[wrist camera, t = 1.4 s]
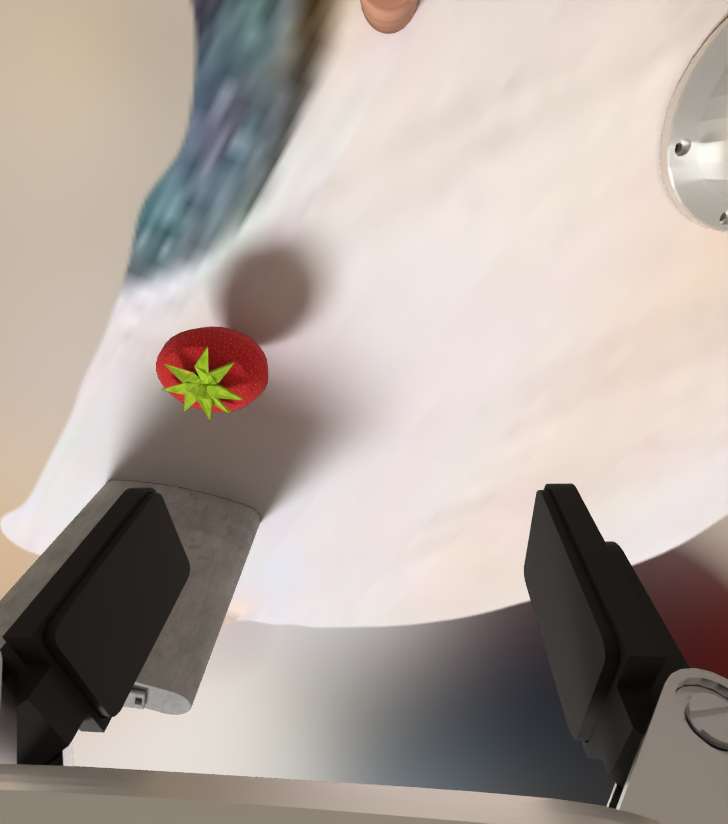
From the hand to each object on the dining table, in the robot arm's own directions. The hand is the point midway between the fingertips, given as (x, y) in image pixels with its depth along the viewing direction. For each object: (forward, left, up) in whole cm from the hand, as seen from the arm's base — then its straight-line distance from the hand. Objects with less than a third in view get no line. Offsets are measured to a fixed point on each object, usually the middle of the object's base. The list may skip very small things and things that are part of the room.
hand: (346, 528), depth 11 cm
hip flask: (+25, +15, -24) cm, 38 cm away
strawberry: (+12, +1, -24) cm, 27 cm away
